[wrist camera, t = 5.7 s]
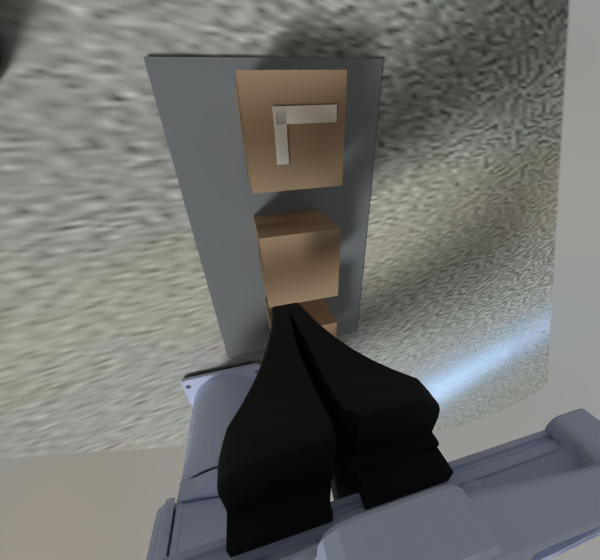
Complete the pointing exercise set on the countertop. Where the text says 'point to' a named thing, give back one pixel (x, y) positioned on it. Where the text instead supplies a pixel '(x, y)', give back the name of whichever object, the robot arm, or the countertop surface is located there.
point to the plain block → (298, 256)
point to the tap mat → (244, 204)
